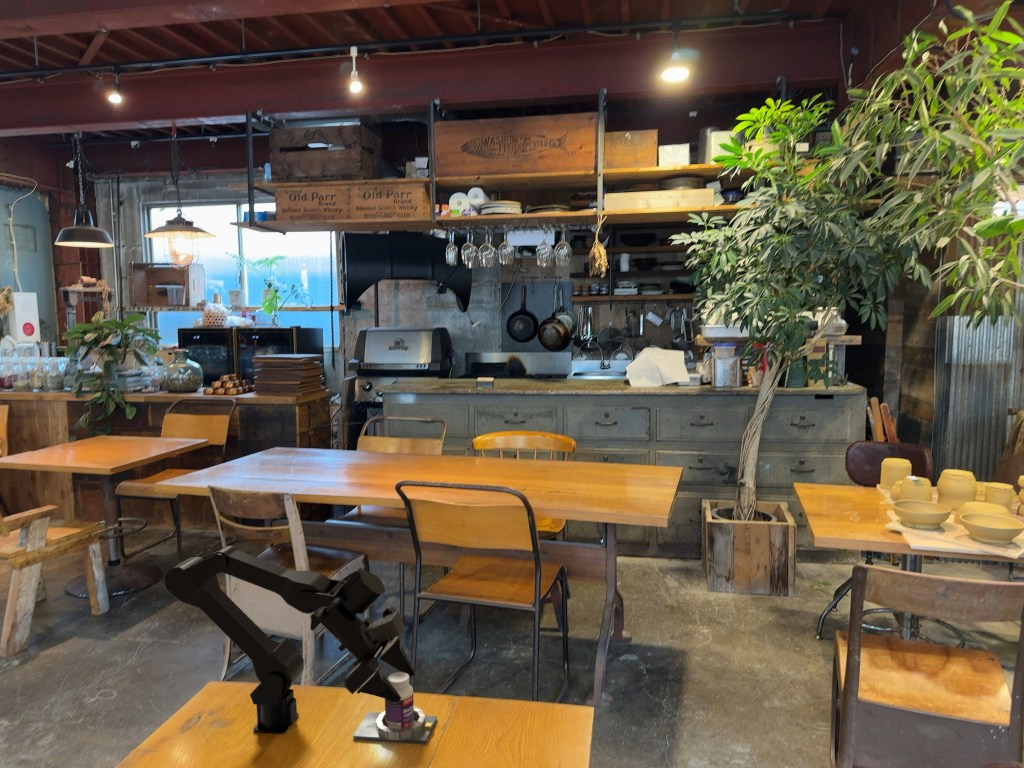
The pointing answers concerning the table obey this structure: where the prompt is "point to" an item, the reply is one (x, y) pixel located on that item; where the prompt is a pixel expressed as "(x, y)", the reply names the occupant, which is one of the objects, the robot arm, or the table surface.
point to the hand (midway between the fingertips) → (406, 687)
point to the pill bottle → (400, 703)
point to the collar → (402, 733)
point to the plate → (369, 730)
